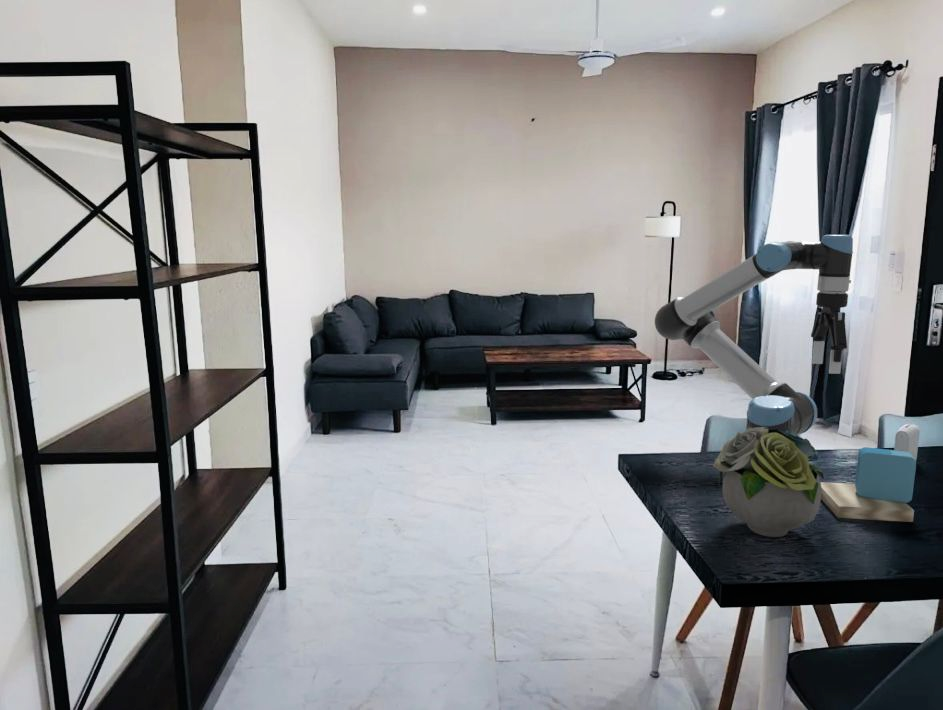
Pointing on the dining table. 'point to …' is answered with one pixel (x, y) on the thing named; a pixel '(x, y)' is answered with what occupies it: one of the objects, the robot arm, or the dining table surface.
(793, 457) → the flower arrangement
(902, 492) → the data package
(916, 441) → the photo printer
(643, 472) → the dining table surface
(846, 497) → the birch board
